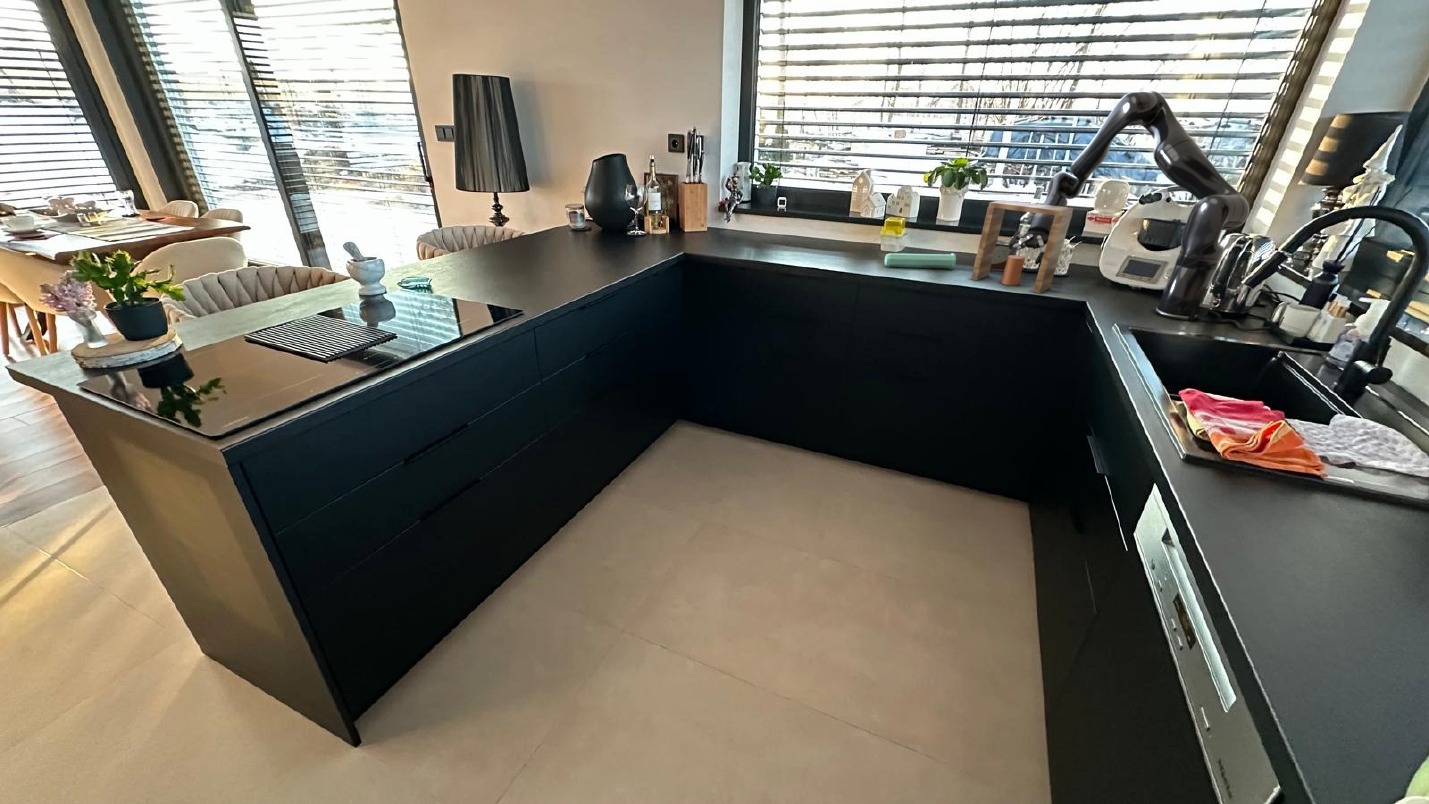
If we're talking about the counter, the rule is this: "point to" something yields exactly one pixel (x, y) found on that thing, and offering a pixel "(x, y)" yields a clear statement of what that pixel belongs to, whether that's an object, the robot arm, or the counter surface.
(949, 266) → the container
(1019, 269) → the tea tin
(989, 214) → the shelf
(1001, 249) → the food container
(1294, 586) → the counter surface
